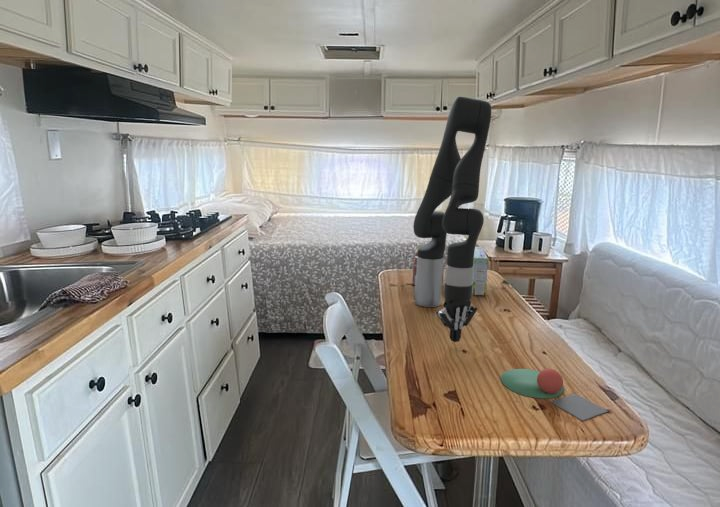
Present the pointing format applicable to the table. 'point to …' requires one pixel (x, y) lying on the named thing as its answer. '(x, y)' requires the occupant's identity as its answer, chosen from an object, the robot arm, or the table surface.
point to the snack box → (479, 272)
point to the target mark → (526, 383)
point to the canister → (416, 268)
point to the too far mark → (579, 407)
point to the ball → (549, 381)
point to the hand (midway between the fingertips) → (454, 340)
